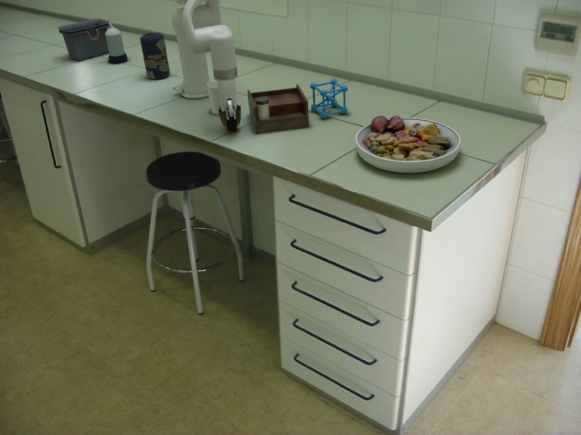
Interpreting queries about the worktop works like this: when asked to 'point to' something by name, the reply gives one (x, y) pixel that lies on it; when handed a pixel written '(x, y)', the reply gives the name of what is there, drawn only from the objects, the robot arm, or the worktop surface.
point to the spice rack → (280, 110)
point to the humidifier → (115, 44)
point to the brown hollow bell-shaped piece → (224, 116)
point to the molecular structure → (329, 98)
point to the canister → (155, 55)
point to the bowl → (407, 144)
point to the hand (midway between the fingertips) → (231, 125)
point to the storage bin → (85, 38)
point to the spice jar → (262, 108)
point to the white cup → (213, 96)
